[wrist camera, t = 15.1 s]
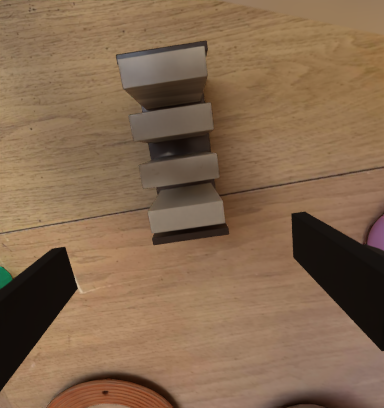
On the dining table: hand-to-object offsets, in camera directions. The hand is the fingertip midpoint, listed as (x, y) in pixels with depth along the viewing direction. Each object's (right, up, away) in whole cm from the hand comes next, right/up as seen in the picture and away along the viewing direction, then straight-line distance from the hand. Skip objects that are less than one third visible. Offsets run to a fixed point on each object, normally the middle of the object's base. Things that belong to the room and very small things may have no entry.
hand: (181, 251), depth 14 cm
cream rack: (-1, +10, +19) cm, 21 cm away
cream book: (0, +4, +19) cm, 20 cm away
